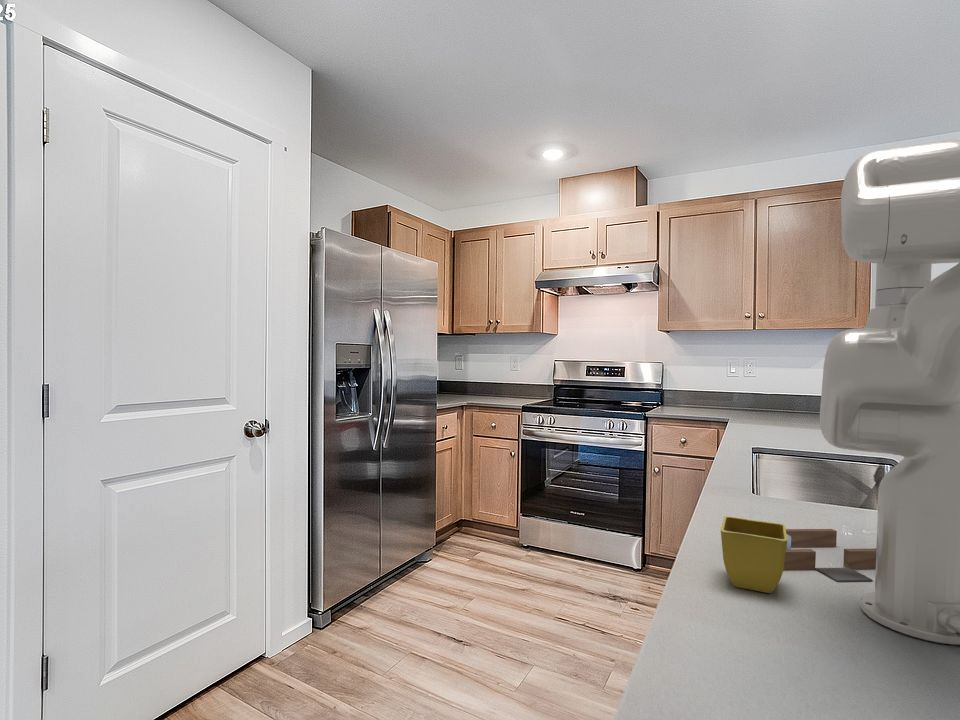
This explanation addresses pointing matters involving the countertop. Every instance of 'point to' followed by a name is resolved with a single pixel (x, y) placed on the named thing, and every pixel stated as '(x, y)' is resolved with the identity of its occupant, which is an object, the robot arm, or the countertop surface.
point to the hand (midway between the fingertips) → (898, 406)
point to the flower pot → (753, 552)
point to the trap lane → (827, 538)
